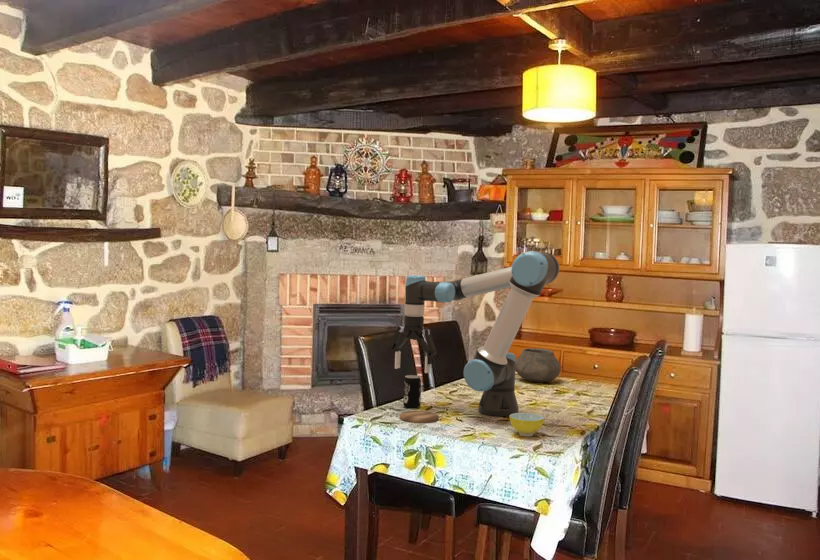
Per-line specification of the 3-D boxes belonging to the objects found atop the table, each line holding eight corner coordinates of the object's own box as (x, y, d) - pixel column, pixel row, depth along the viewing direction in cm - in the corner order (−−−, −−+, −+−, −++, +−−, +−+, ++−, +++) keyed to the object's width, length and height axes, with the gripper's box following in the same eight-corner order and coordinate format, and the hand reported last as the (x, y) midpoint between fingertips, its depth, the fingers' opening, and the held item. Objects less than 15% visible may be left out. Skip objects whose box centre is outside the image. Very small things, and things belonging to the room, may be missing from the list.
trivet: (445, 417, 255) (445, 414, 255) (425, 425, 243) (425, 421, 243) (413, 412, 262) (413, 408, 262) (392, 419, 251) (392, 415, 251)
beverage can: (418, 409, 267) (419, 378, 267) (401, 408, 268) (402, 377, 268) (421, 406, 274) (422, 375, 273) (405, 404, 275) (406, 374, 274)
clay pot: (564, 380, 340) (565, 349, 340) (554, 387, 321) (555, 354, 320) (520, 375, 349) (521, 345, 349) (508, 382, 330) (509, 350, 329)
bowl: (505, 436, 230) (506, 418, 230) (513, 429, 241) (513, 411, 241) (540, 441, 226) (540, 421, 226) (546, 432, 237) (546, 414, 237)
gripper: (447, 317, 266) (445, 373, 267) (392, 312, 280) (390, 365, 280) (437, 318, 260) (435, 375, 261) (381, 313, 273) (379, 367, 274)
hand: (412, 370), depth 271 cm, fingers open, 13 cm apart
